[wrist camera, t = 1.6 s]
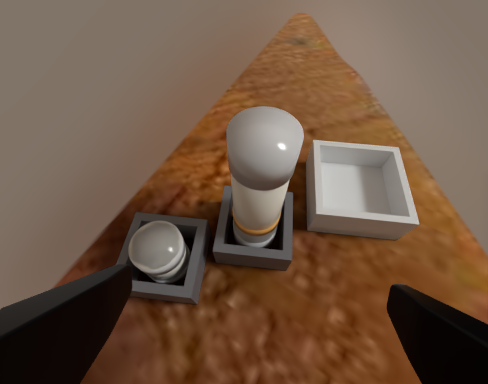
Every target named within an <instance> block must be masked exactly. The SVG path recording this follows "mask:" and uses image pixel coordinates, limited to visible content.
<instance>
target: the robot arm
mask: <svg viewBox="0 0 488 384" xmlns="http://www.w3.org/2000/svg"><path fill="white" fill-rule="evenodd" d="M131 292H132V269H131V266H130V265H127V264H117V265H114V266H112V267H109V268H106V269H104V270H101V271H98V272H96V273H93V274H91V275H88V276H85V277H83V278H80V279H77V280H75V281H72V282H70V283H67V284H64V285H62V286H59V287H56V288H54V289H51V290H48V291H46V292H43V293H41V294H38V295H35V296H33V297H30V298H28V299H25V300H22V301H20V302H17V303H14V304H12V305H9V306H6V307H4V308H1V310H0V384H80V383H81V381H82V379H83V378H84V376H85V375H86V373H87V371H88V370H89V368H90V367H91V365H92V363H93V362H94V360H95V359H96V357H97V355H98V354H99V352H100V350H101V349H102V347H103V346H104V344H105V342H106V341H107V339H108V338H109V336H110V334H111V332H112V330H113V329H114V327H115V325H116V323H117V321H118V318H119V316H120V314H121V312H122V310H123V308H124V306H125V304H126V302H127V300H128V298H129V296H130V294H131ZM387 312H388V314H389V317H390V319H391V321H392V324H393V326H394V328H395V330H396V333H397V335H398V337H399V339H400V342H401V344H402V346H403V349H404V351H405V353H406V355H407V357H408V359H409V361H410V363H411V365H412V367H413V368H414V370H415V372H416V374H417V376H418V377H419V379H420V381H421V383H422V384H488V324H486V323H484V322H482V321H480V320H478V319H476V318H474V317H472V316H470V315H467V314H465V313H463V312H461V311H459V310H457V309H455V308H453V307H451V306H449V305H447V304H445V303H443V302H440V301H438V300H436V299H434V298H432V297H430V296H428V295H426V294H424V293H422V292H420V291H418V290H416V289H413V288H411V287H409V286H407V285H403V284H393V285H392V286H391V288H390V292H389V297H388V301H387Z"/></svg>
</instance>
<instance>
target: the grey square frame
mask: <svg viewBox="0 0 488 384" xmlns="http://www.w3.org/2000/svg"><path fill="white" fill-rule="evenodd" d="M232 209H233V198H232V186H225V187H224V193H223V198H222V203H221V209H220V214H219V220H218V225H217V231H216V236H215V241H214V247H213V254H214V257H215V261H216V263H224V264H232V265H241V266H249V267H258V268H266V269H275V270H284V271H286V270H287V268H288V267H289V265H290V263H291V261H292V229H293V192H286V195H285V199H284V202H283V206H282V209H281V215H280V236H279V250H274V249H265V248H257V247H248V246H239V245H230V244H227V241H228V235H229V228H230V222H231V215H232Z"/></svg>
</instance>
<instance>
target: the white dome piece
mask: <svg viewBox="0 0 488 384" xmlns="http://www.w3.org/2000/svg"><path fill="white" fill-rule="evenodd" d="M128 252H129V257H130V260H131V261H132V263H133V264H134V265H135V266H136V267H137V268H139V269H140V270H141V271H142V272H144V273H146V274H147V275H148V276H149V277H150V278H151V279H153V280H154V281H155V282H157V283H158V284H167V285H173V284H176V283H178V282H180V281H182V280H183V279H184V278H185V277H186V274H187V270H188V266H189V261H190V257H191V252H190V250H189V248H188V246H187V245H186V244H185V242H184V239H183V237H182V235H181V233H180V231H179V230H178V228H177V227H176V226H175V225H173V224H172V223H170V222H167V221H153V222H150V223H147V224H145V225H144V226H142V227H141V228H140V229H138V230H137V231H136V232H135V234H134V235H133V237H132V238H131V241H130V244H129V250H128Z"/></svg>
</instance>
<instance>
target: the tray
mask: <svg viewBox="0 0 488 384" xmlns="http://www.w3.org/2000/svg"><path fill="white" fill-rule="evenodd" d="M306 197H307V231H315V232H324V233H334V234H343V235H352V236H361V237H371V238H380V239H389V240H398V239H400V238H401V237H402V236H404V235H405V234H407V233H408V232H409V231H411V230H412V229H414V228H415V227H417V226H418V225H419V220H418V217H417V213H416V209H415V206H414V202H413V198H412V195H411V191H410V187H409V184H408V180H407V176H406V173H405V169H404V165H403V162H402V158H401V154H400V151H399V147H388V146H376V145H365V144H354V143H342V142H331V141H320V140H313V143H312V146H311V149H310V151H309V154H308V157H307V160H306Z"/></svg>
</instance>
